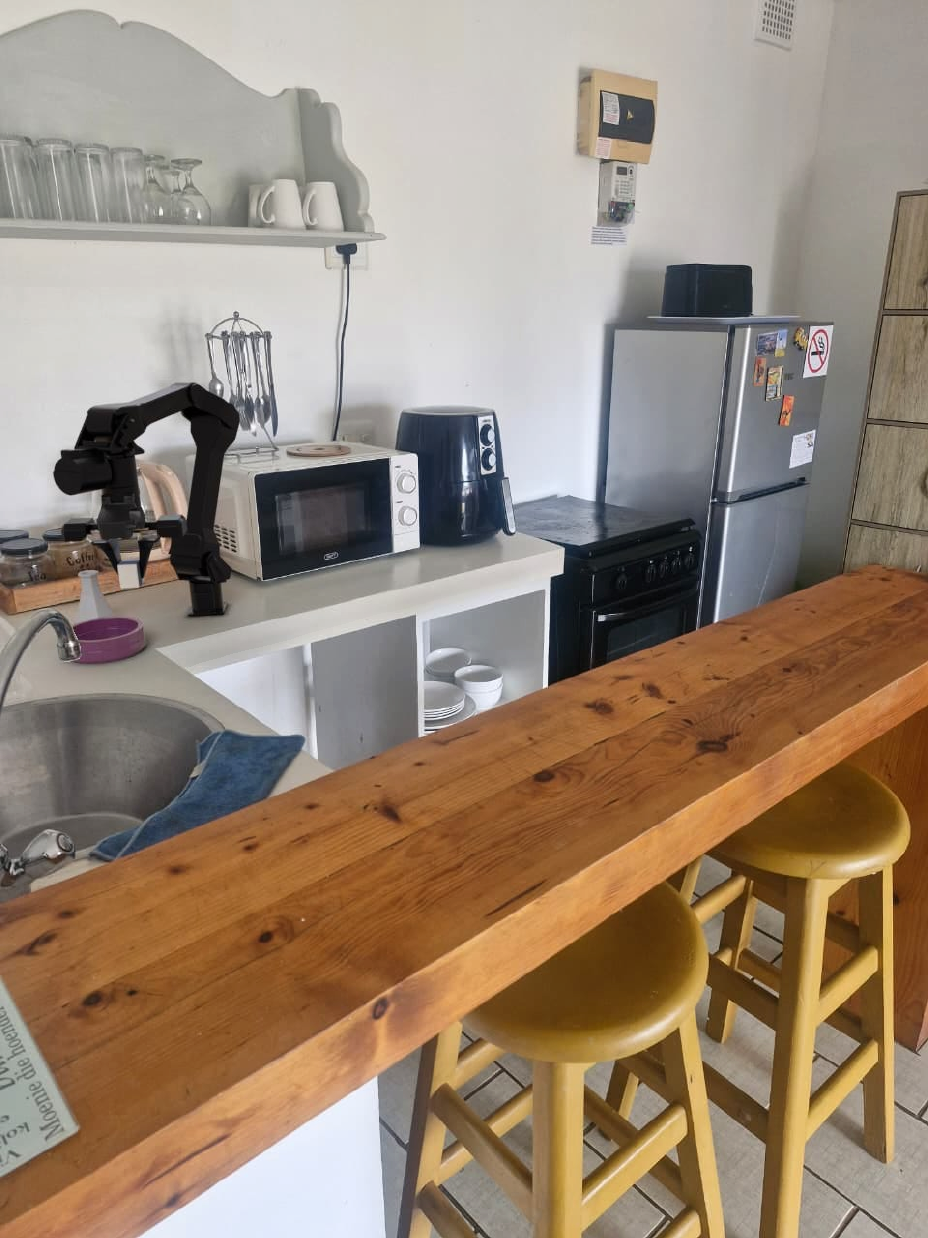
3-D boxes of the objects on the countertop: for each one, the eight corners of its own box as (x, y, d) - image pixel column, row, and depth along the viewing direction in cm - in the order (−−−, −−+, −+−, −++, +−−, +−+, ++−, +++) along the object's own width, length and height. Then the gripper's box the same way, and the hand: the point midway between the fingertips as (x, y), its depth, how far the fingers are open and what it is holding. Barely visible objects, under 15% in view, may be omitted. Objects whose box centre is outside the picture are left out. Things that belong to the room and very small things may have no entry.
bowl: (76, 640, 150) (73, 618, 148) (153, 636, 151) (150, 614, 150) (54, 667, 138) (50, 644, 137) (138, 662, 139) (134, 639, 138)
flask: (102, 633, 153) (94, 578, 150) (66, 631, 154) (57, 577, 151) (125, 620, 160) (118, 567, 156) (90, 617, 161) (82, 566, 158)
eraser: (126, 580, 148) (123, 556, 147) (145, 579, 148) (142, 556, 147) (119, 589, 143) (116, 565, 141) (139, 588, 143) (136, 564, 142)
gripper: (44, 496, 131) (59, 594, 136) (171, 491, 134) (182, 588, 139) (64, 484, 142) (78, 576, 147) (182, 480, 145) (192, 571, 149)
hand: (132, 578), depth 145 cm, fingers closed on eraser, 3 cm apart
